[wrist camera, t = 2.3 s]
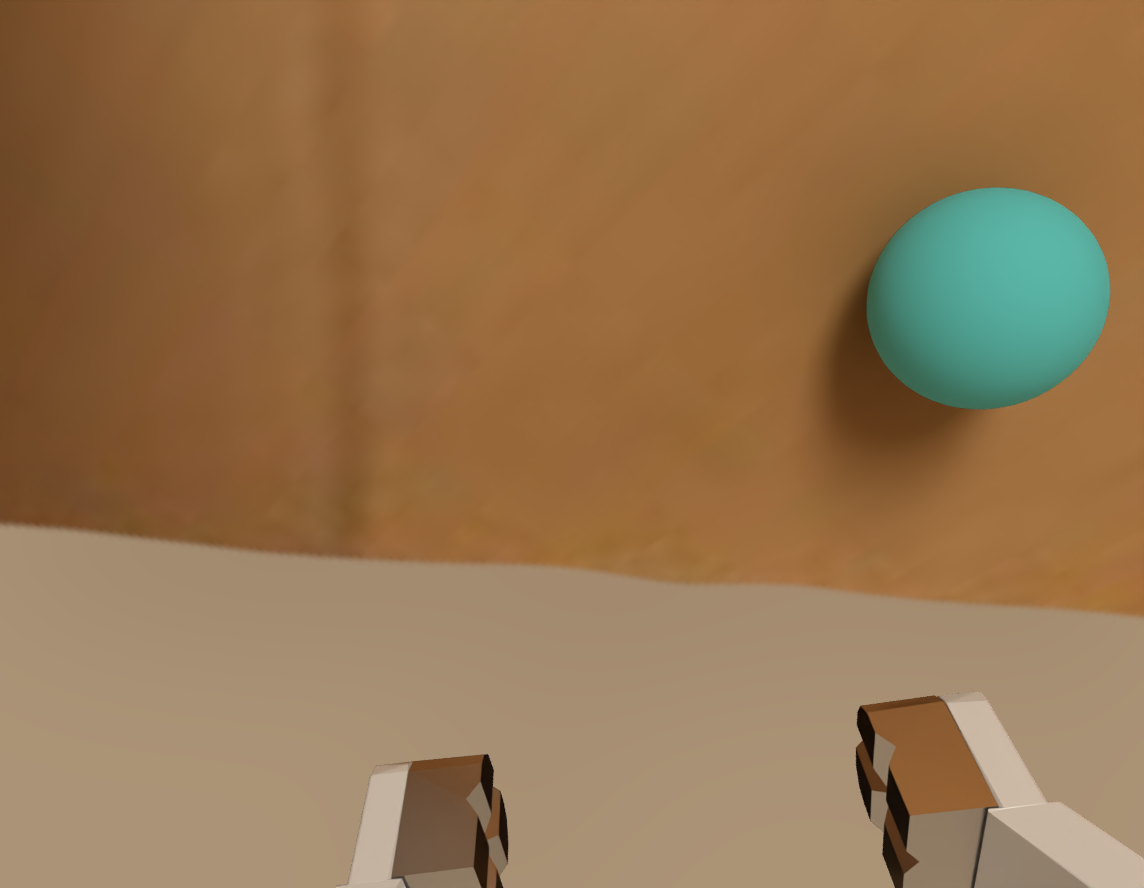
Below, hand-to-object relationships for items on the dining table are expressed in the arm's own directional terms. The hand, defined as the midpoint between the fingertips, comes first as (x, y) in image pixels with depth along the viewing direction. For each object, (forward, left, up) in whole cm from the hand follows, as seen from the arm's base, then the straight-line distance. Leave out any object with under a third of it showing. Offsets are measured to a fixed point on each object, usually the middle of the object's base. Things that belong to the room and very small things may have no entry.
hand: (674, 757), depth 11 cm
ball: (+9, 0, -12) cm, 16 cm away
